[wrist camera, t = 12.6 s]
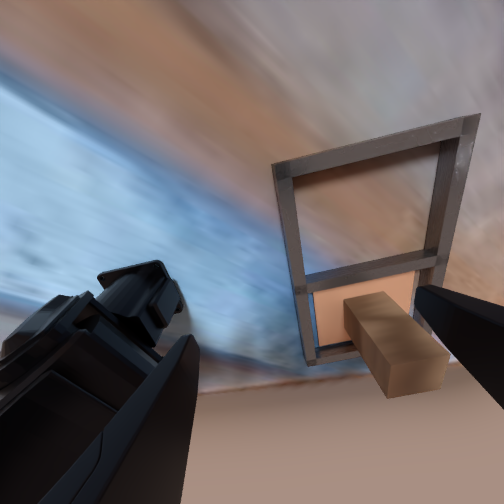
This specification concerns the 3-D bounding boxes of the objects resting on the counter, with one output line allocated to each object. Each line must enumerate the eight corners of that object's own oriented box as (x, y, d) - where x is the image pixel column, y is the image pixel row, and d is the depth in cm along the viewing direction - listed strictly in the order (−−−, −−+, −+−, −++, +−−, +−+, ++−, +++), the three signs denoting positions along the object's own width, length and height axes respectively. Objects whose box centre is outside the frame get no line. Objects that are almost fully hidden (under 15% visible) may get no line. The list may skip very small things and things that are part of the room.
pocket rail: (304, 356, 27) (307, 366, 26) (271, 164, 17) (274, 164, 15) (419, 333, 26) (429, 343, 25) (460, 116, 16) (481, 113, 14)
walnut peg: (344, 327, 25) (387, 398, 17) (343, 299, 23) (390, 365, 16) (381, 320, 24) (440, 389, 17) (383, 290, 23) (450, 354, 15)
